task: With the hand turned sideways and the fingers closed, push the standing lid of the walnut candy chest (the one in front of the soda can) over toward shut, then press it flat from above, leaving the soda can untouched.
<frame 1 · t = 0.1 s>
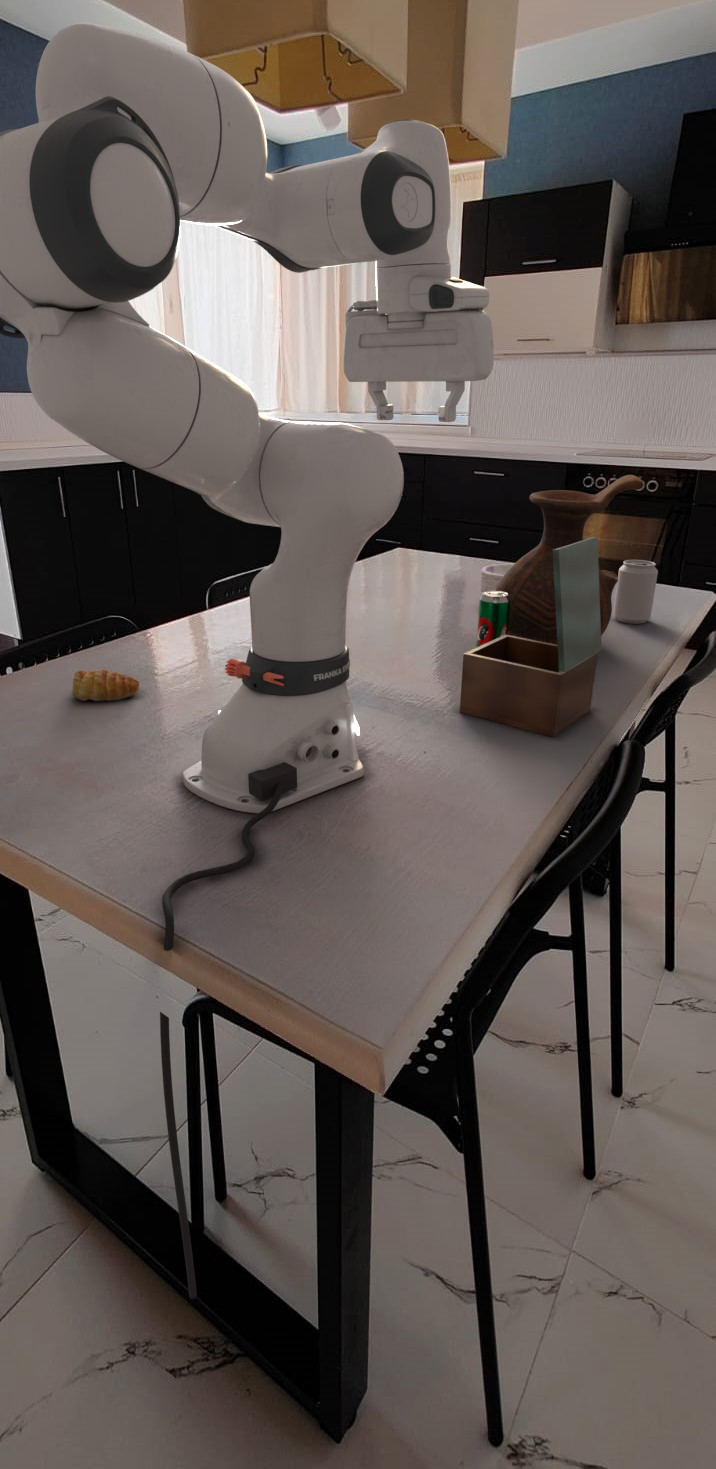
hand: (415, 420, 98), 39 cm above the table, tool pointing down, fingers open, 8 cm apart
jug: (548, 644, 143), on the table
pastry: (103, 696, 116), on the table
lid: (578, 602, 102), point 17 cm above the table, hinge at 80.0°
paper bowls: (512, 605, 170), on the table
chest: (525, 711, 112), on the table
can: (630, 620, 159), on the table
soda can: (489, 663, 132), on the table
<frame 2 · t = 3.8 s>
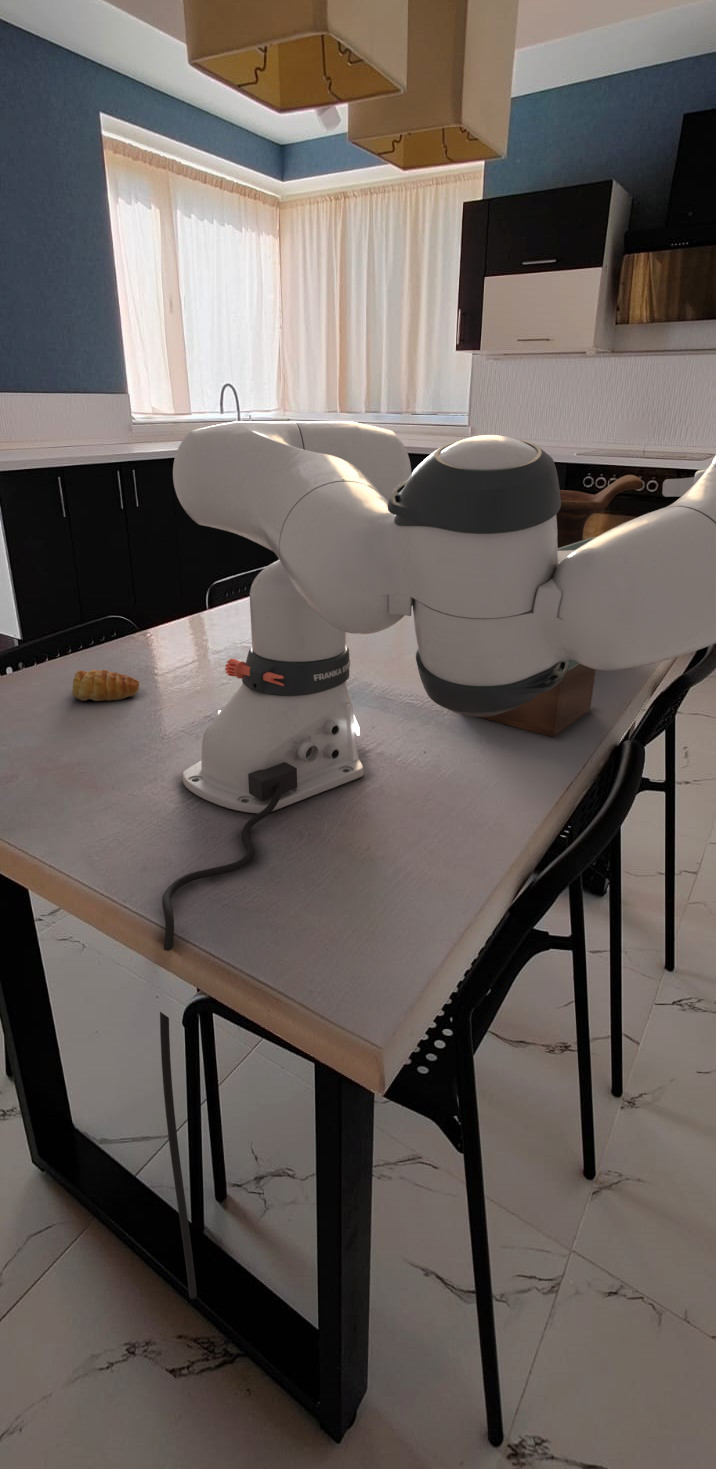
hand: (681, 485, 87), 33 cm above the table, tool horizontal, fingers open, 8 cm apart
nothing on the table moved.
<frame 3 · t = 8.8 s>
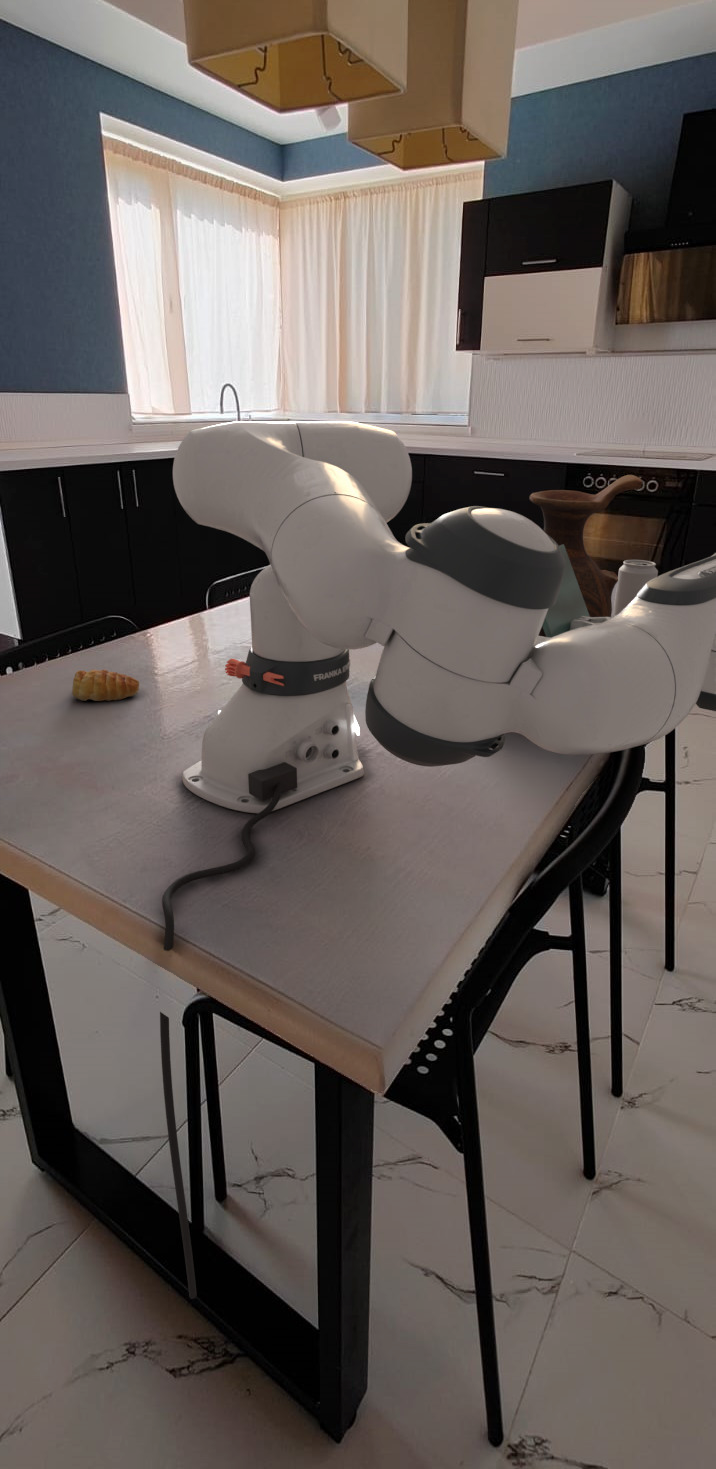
hand: (574, 624, 103), 14 cm above the table, tool horizontal, fingers closed, pressing on lid
lid: (561, 606, 103), point 16 cm above the table, hinge at 61.9°, touching gripper
everything else where it was.
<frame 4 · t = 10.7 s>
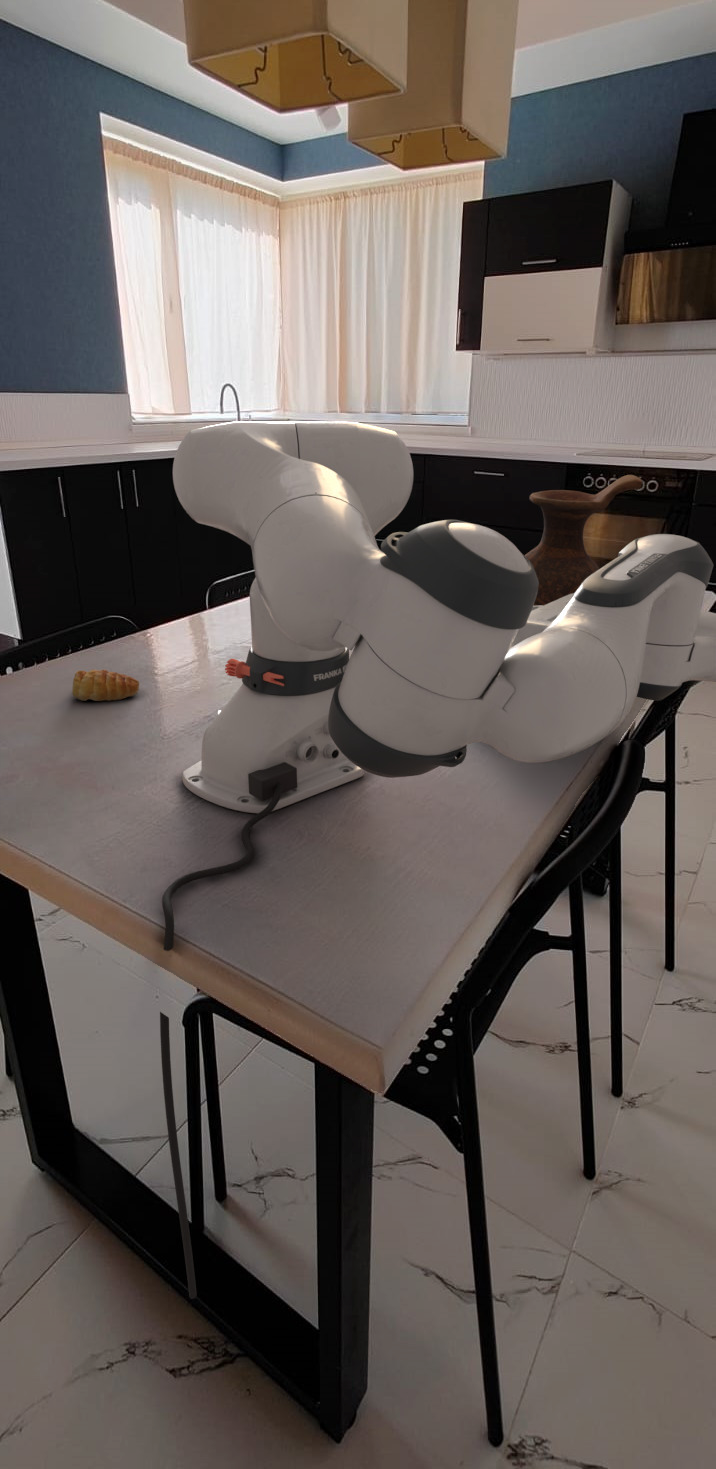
hand: (510, 612, 108), 14 cm above the table, tool horizontal, fingers closed, pressing on lid
lid: (532, 633, 107), point 12 cm above the table, hinge at 17.4°, touching gripper
everything else where it was.
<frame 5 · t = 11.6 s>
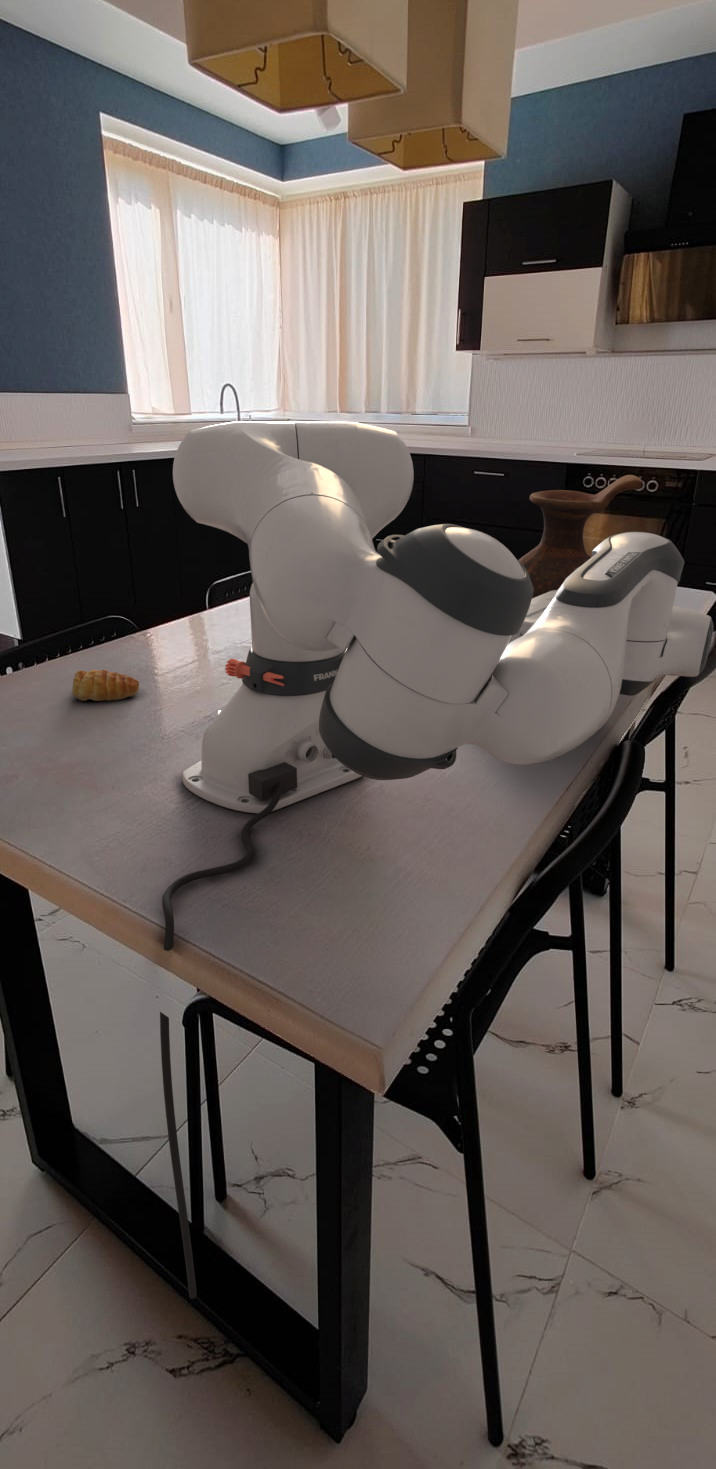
hand: (491, 608, 110), 14 cm above the table, tool horizontal, fingers closed
lid: (528, 649, 108), point 9 cm above the table, hinge at -0.2°, touching arm, chest
everything else where it was.
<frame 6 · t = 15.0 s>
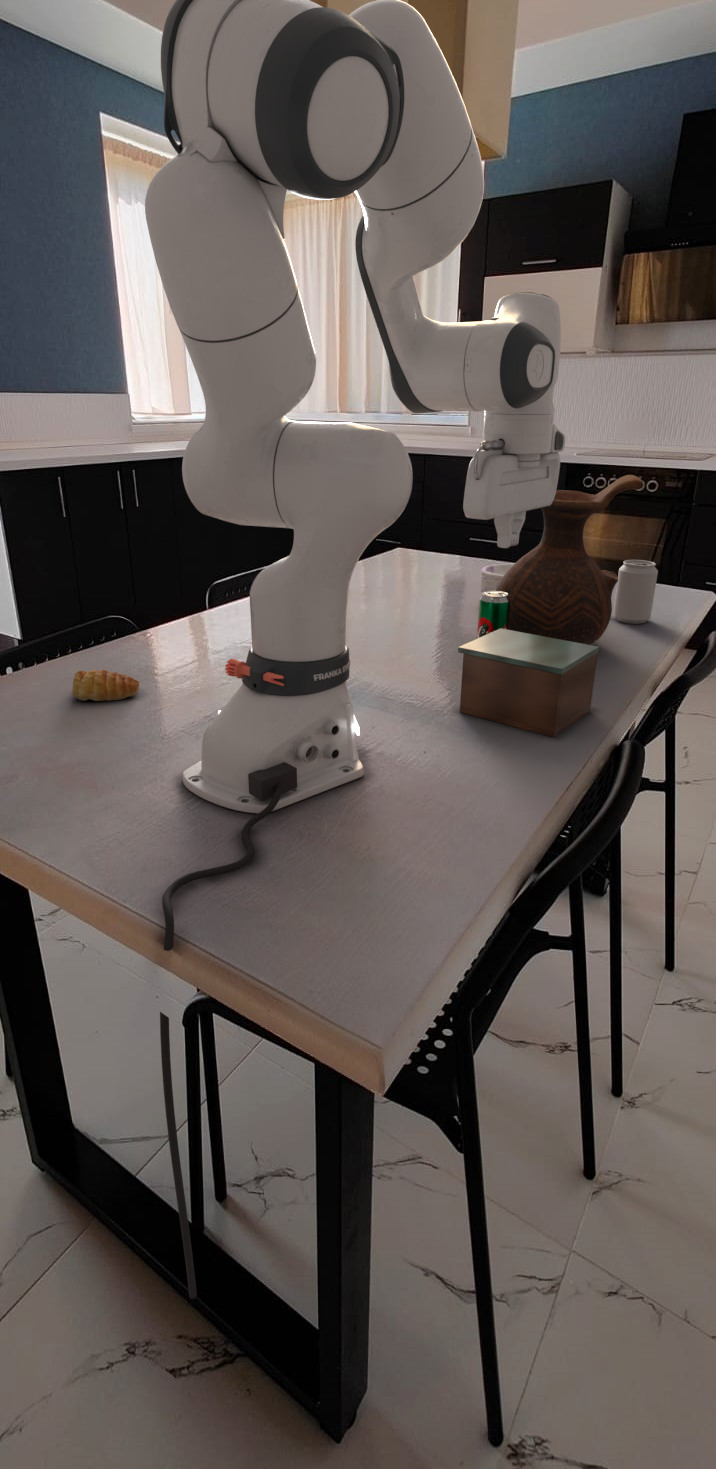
hand: (507, 546, 105), 23 cm above the table, tool pointing down, fingers closed
lid: (528, 649, 108), point 9 cm above the table, hinge at -0.2°, touching chest
everything else where it was.
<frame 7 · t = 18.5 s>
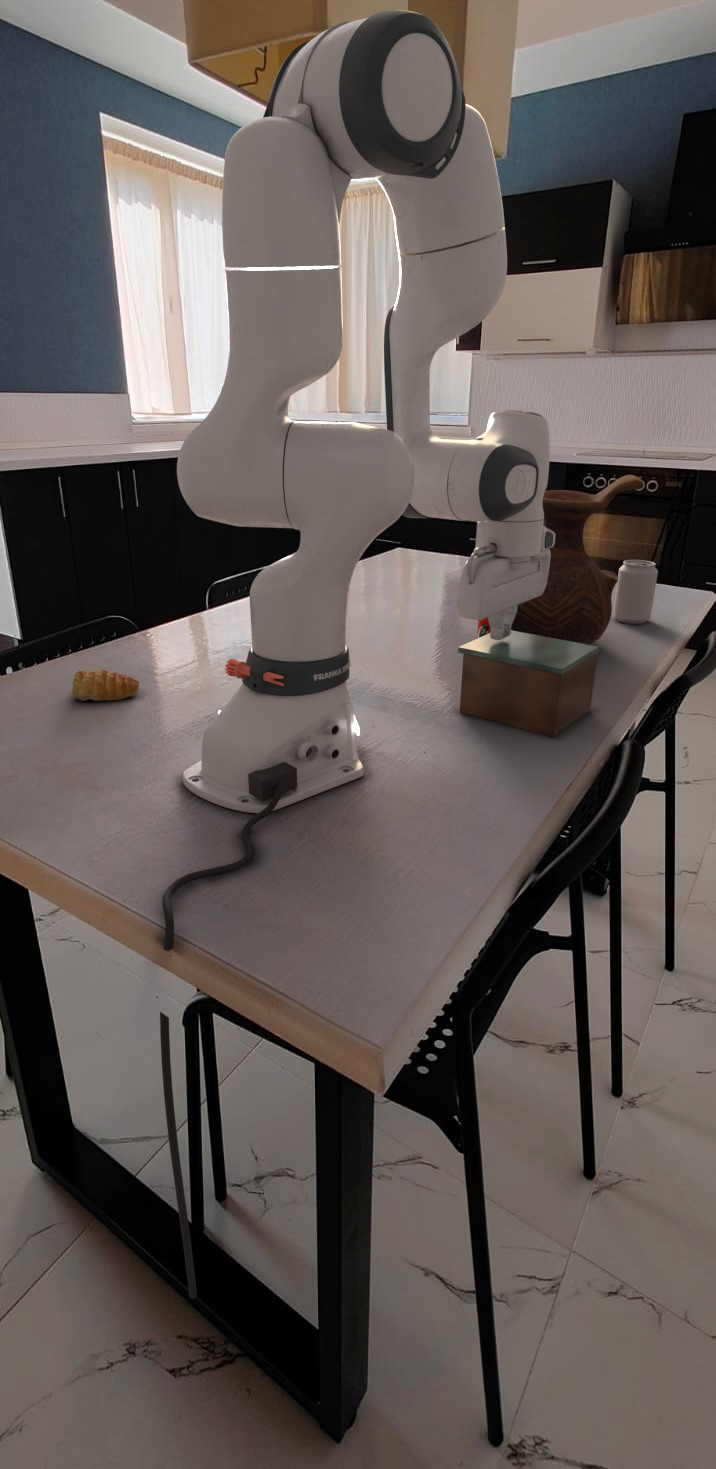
hand: (500, 637, 110), 10 cm above the table, tool pointing down, fingers closed
nothing on the table moved.
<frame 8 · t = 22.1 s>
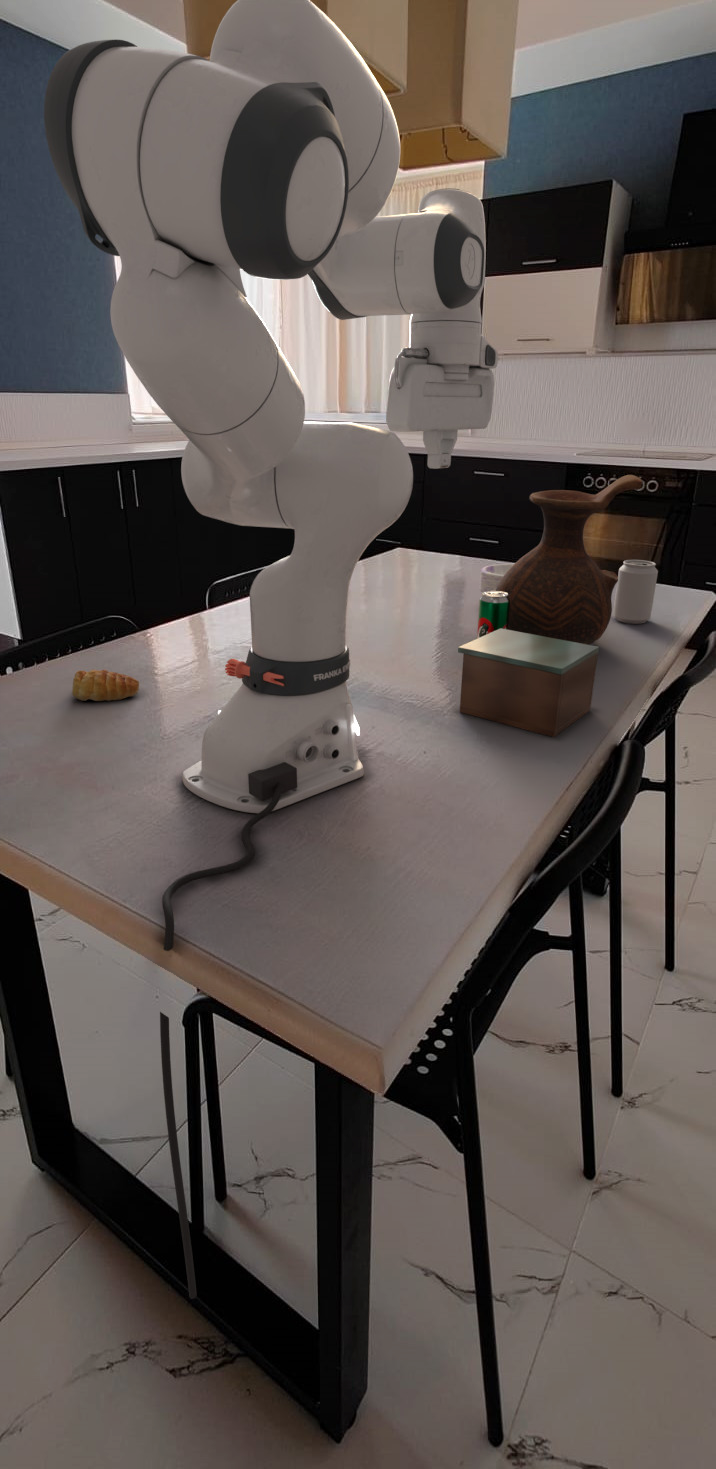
hand: (438, 467, 101), 33 cm above the table, tool pointing down, fingers closed
nothing on the table moved.
at the end: lid at +0° (first picture: +80°); soda can moved 0.2 cm from its start; soda can tilted 0° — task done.
